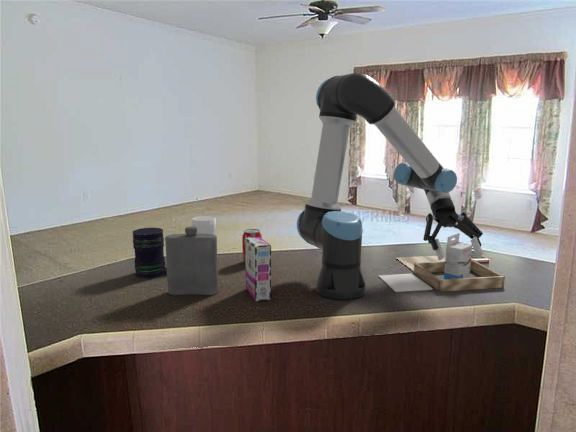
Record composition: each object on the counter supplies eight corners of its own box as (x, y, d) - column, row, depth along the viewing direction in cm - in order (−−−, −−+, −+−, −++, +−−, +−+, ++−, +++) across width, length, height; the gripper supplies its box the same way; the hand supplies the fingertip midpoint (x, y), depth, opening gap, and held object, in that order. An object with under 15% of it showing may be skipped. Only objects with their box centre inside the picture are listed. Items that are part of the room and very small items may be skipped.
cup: (191, 258, 166) (189, 216, 163) (215, 256, 169) (214, 215, 165) (194, 265, 158) (192, 221, 154) (219, 263, 160) (218, 220, 157)
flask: (220, 288, 136) (218, 225, 132) (217, 295, 130) (215, 229, 126) (171, 288, 136) (167, 225, 131) (166, 295, 130) (162, 229, 126)
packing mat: (395, 292, 133) (395, 290, 133) (378, 276, 146) (378, 275, 146) (432, 289, 135) (432, 288, 135) (412, 274, 148) (412, 273, 148)
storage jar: (146, 281, 142) (143, 236, 139) (129, 274, 148) (125, 231, 145) (171, 273, 150) (169, 230, 147) (154, 267, 155) (151, 226, 152)
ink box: (457, 285, 139) (461, 239, 136) (443, 281, 142) (446, 237, 139) (469, 278, 145) (473, 235, 142) (455, 274, 148) (458, 232, 145)
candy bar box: (272, 300, 127) (271, 245, 123) (255, 302, 125) (254, 246, 122) (260, 286, 137) (260, 235, 134) (245, 289, 135) (244, 237, 132)
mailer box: (439, 291, 133) (439, 280, 133) (394, 258, 166) (395, 249, 165) (503, 287, 137) (504, 276, 136) (447, 256, 169) (448, 247, 169)
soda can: (239, 264, 159) (239, 232, 156) (247, 258, 165) (246, 227, 163) (258, 266, 157) (257, 233, 154) (264, 260, 163) (264, 229, 161)
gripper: (468, 207, 158) (490, 260, 147) (403, 210, 154) (420, 264, 143) (478, 195, 152) (502, 249, 141) (411, 197, 148) (429, 253, 137)
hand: (461, 257), depth 142 cm, fingers open, 13 cm apart
